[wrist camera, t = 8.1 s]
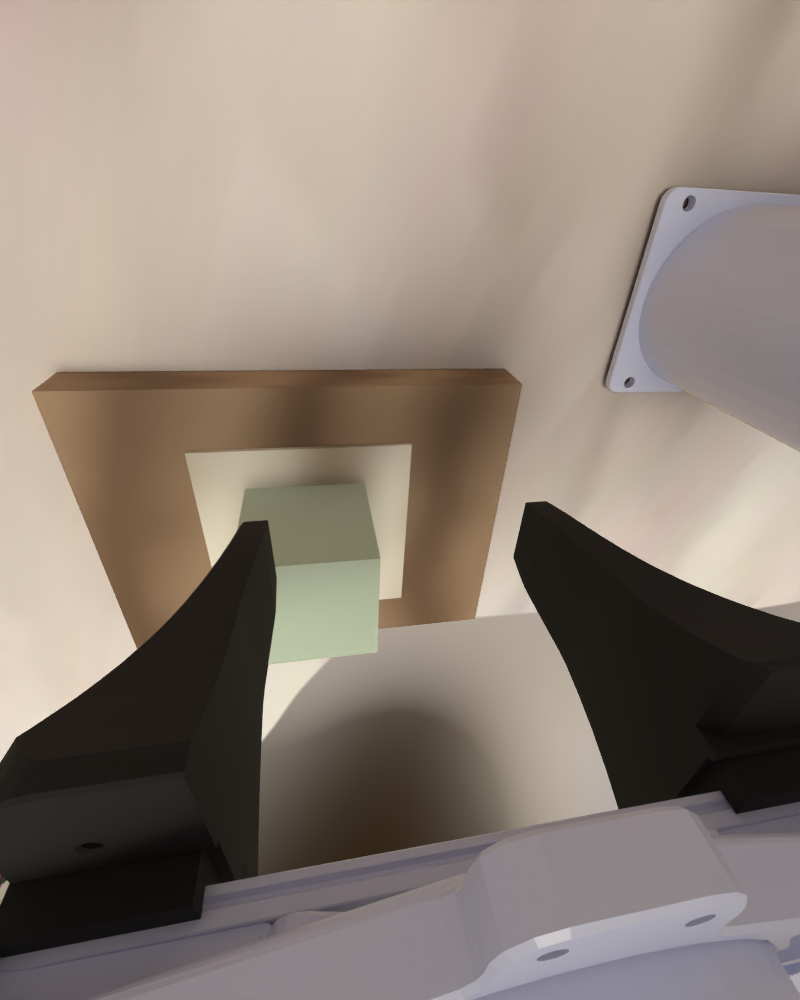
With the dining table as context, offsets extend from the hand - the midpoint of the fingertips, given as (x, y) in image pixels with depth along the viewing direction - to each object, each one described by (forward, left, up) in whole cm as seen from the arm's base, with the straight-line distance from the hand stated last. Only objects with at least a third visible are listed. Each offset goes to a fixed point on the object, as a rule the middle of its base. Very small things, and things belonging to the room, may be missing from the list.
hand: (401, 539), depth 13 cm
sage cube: (+3, +5, -7) cm, 9 cm away
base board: (+3, +5, -9) cm, 11 cm away
